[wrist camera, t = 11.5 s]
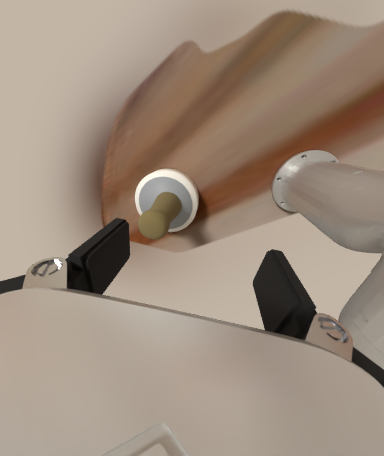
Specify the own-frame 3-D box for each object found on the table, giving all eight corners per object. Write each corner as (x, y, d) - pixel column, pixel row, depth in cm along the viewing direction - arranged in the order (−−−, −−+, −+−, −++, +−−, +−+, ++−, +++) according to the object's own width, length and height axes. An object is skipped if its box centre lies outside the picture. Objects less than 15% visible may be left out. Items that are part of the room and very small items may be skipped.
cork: (186, 199, 34) (174, 222, 24) (175, 222, 37) (161, 250, 27) (160, 186, 33) (137, 204, 23) (151, 210, 36) (128, 235, 26)
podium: (204, 174, 35) (202, 178, 31) (193, 228, 42) (191, 237, 38) (143, 162, 36) (133, 165, 32) (142, 218, 43) (135, 226, 39)
